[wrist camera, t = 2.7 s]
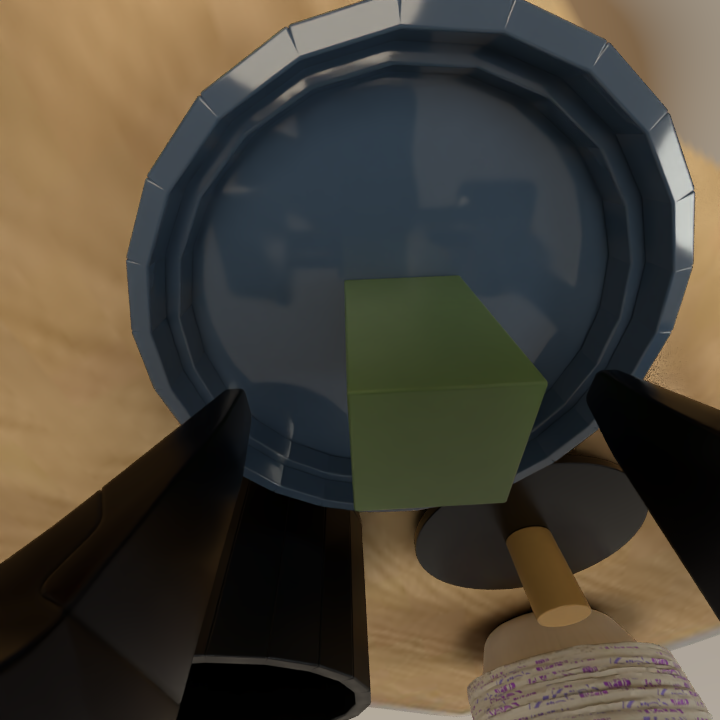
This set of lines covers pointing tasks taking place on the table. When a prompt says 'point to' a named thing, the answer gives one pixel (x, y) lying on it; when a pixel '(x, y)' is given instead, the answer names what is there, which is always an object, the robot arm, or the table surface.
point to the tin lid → (536, 535)
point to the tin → (283, 616)
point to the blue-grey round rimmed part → (408, 218)
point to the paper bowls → (579, 675)
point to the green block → (433, 395)
